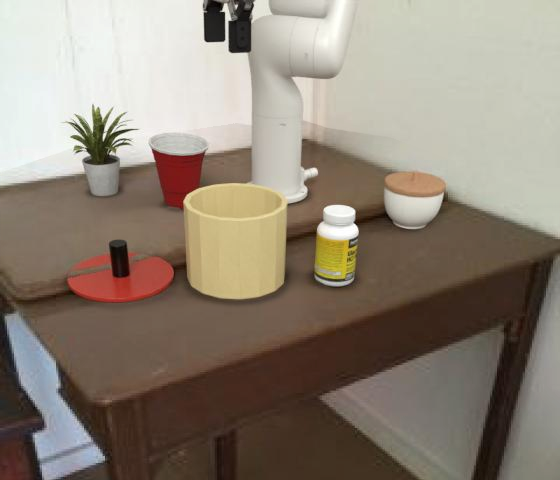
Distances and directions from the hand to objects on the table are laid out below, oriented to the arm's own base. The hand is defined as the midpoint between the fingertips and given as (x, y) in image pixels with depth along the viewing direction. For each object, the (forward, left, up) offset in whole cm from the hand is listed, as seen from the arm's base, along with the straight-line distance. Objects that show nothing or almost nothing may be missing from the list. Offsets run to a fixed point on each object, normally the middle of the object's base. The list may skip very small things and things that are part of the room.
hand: (226, 46), depth 101 cm
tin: (+7, +11, -30) cm, 33 cm away
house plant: (+5, -34, -31) cm, 46 cm away
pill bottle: (-5, +20, -31) cm, 37 cm away
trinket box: (-32, +12, -31) cm, 46 cm away
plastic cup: (-4, -20, -31) cm, 37 cm away
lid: (+21, +1, -30) cm, 37 cm away
